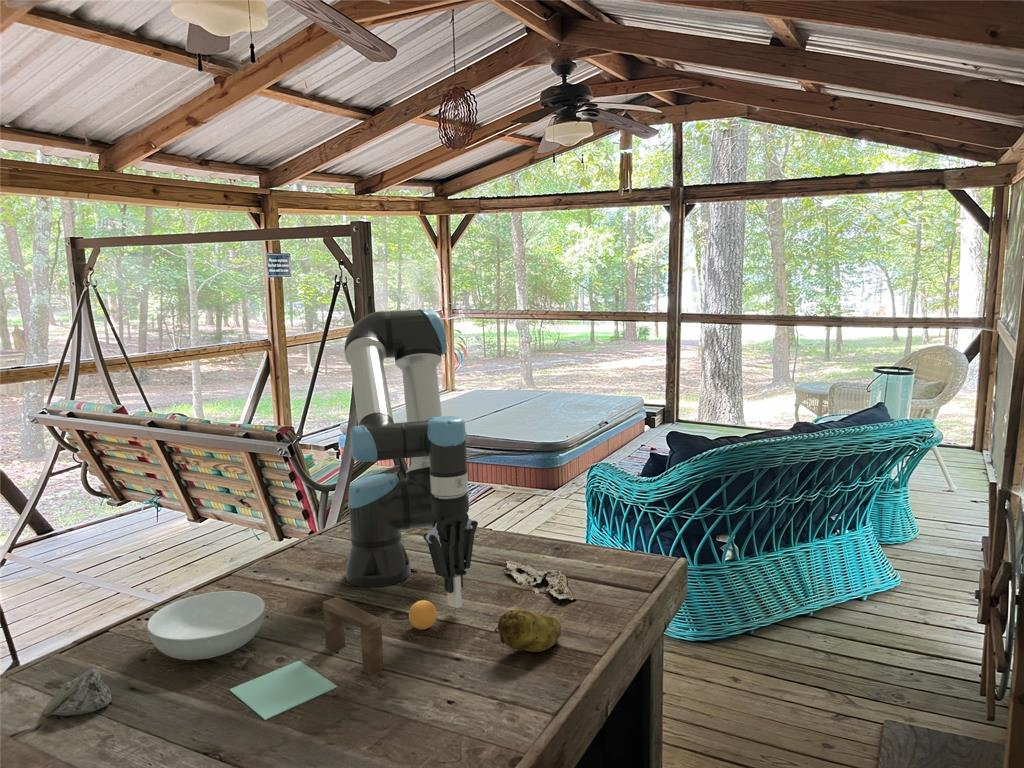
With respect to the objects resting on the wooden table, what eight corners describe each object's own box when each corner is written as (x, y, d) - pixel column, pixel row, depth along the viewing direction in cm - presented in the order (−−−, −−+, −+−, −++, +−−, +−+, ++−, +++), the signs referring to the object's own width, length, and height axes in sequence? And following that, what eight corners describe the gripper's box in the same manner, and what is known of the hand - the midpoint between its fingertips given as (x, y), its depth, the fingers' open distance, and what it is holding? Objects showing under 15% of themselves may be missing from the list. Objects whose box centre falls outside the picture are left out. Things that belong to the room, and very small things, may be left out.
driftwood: (595, 581, 160) (584, 565, 158) (568, 619, 155) (556, 603, 153) (521, 561, 180) (511, 547, 179) (495, 594, 175) (484, 580, 173)
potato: (572, 653, 135) (571, 611, 134) (505, 666, 131) (503, 623, 130) (556, 633, 143) (555, 593, 141) (492, 645, 139) (490, 604, 138)
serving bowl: (152, 686, 128) (148, 649, 127) (148, 638, 147) (145, 605, 146) (276, 655, 138) (273, 620, 137) (258, 613, 156) (255, 582, 155)
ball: (403, 628, 147) (402, 602, 146) (425, 619, 150) (424, 593, 150) (420, 637, 143) (419, 610, 142) (443, 627, 147) (441, 600, 146)
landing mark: (229, 690, 126) (229, 689, 126) (299, 661, 135) (298, 660, 135) (265, 720, 117) (265, 719, 117) (337, 687, 126) (337, 686, 126)
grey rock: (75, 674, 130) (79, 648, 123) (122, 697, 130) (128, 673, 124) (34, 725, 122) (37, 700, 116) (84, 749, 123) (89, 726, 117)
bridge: (369, 675, 129) (366, 625, 128) (326, 648, 140) (322, 601, 138) (383, 668, 131) (380, 619, 130) (339, 642, 142) (336, 596, 141)
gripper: (436, 504, 142) (442, 621, 145) (485, 489, 151) (490, 600, 154) (412, 497, 147) (418, 611, 150) (461, 483, 156) (466, 590, 159)
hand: (454, 605), depth 152 cm, fingers closed
